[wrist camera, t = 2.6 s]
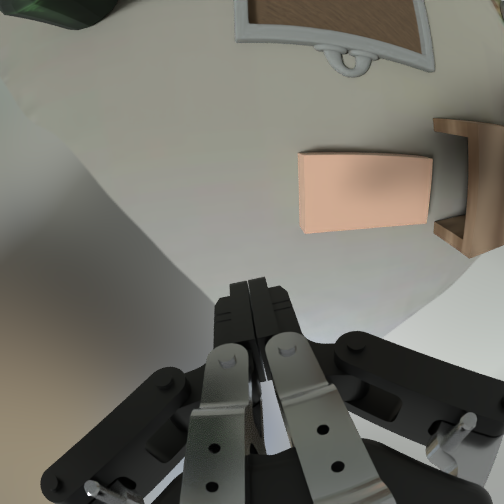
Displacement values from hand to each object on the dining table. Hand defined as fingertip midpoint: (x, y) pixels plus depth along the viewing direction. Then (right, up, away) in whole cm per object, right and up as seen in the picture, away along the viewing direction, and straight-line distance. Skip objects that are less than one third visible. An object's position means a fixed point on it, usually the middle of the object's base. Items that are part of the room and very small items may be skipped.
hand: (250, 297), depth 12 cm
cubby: (+25, +11, +11) cm, 30 cm away
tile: (+10, +8, +12) cm, 18 cm away
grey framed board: (+8, +31, +1) cm, 32 cm away
